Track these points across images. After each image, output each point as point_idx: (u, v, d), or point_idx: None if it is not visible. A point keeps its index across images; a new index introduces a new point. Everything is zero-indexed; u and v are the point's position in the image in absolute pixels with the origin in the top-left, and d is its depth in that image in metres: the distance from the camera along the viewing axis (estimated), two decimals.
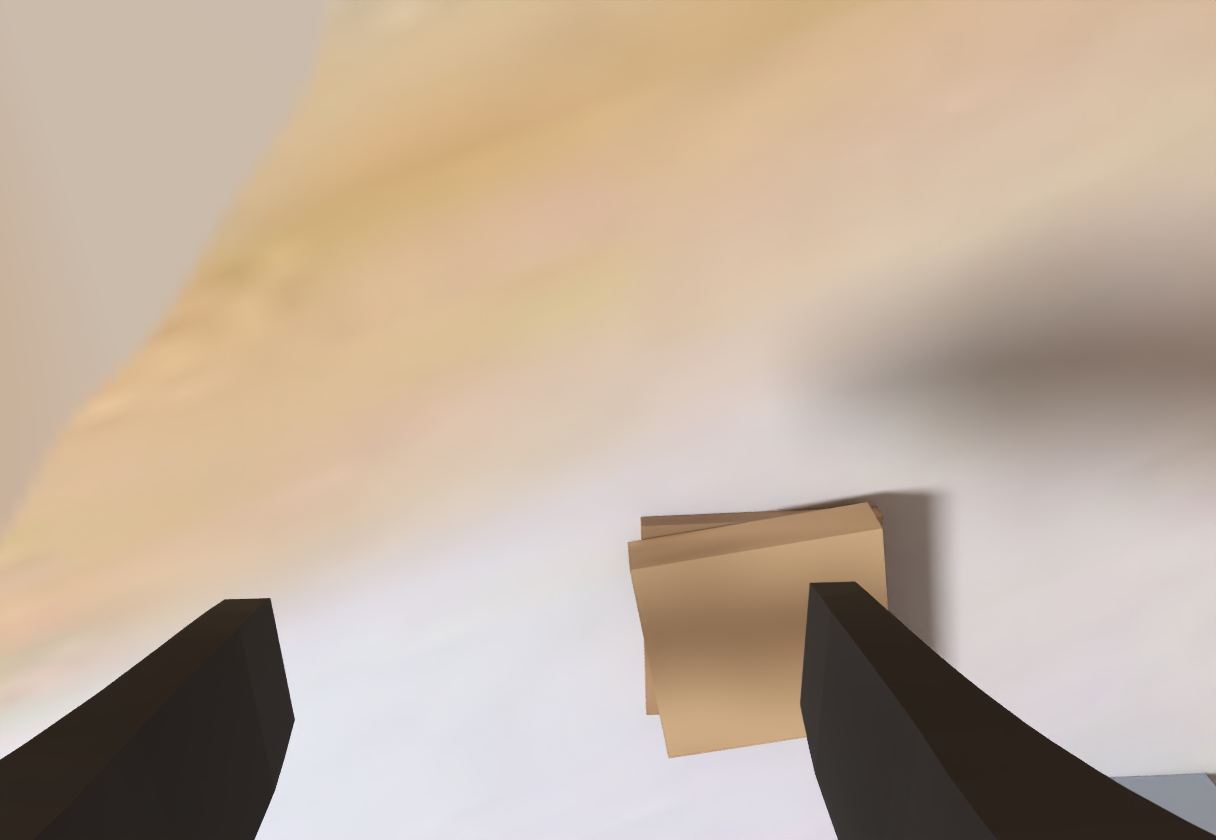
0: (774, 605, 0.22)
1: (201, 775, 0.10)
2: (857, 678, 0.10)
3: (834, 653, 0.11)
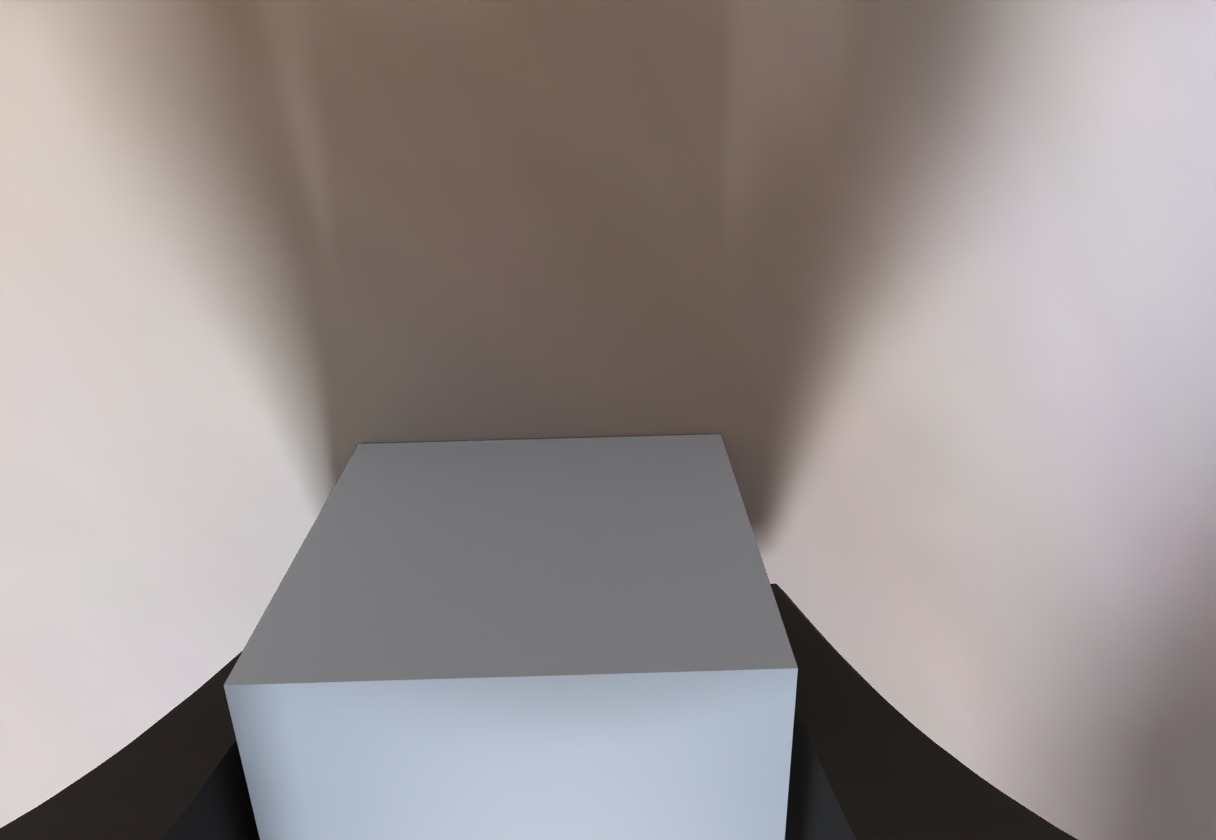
0: None
1: None
2: None
3: None
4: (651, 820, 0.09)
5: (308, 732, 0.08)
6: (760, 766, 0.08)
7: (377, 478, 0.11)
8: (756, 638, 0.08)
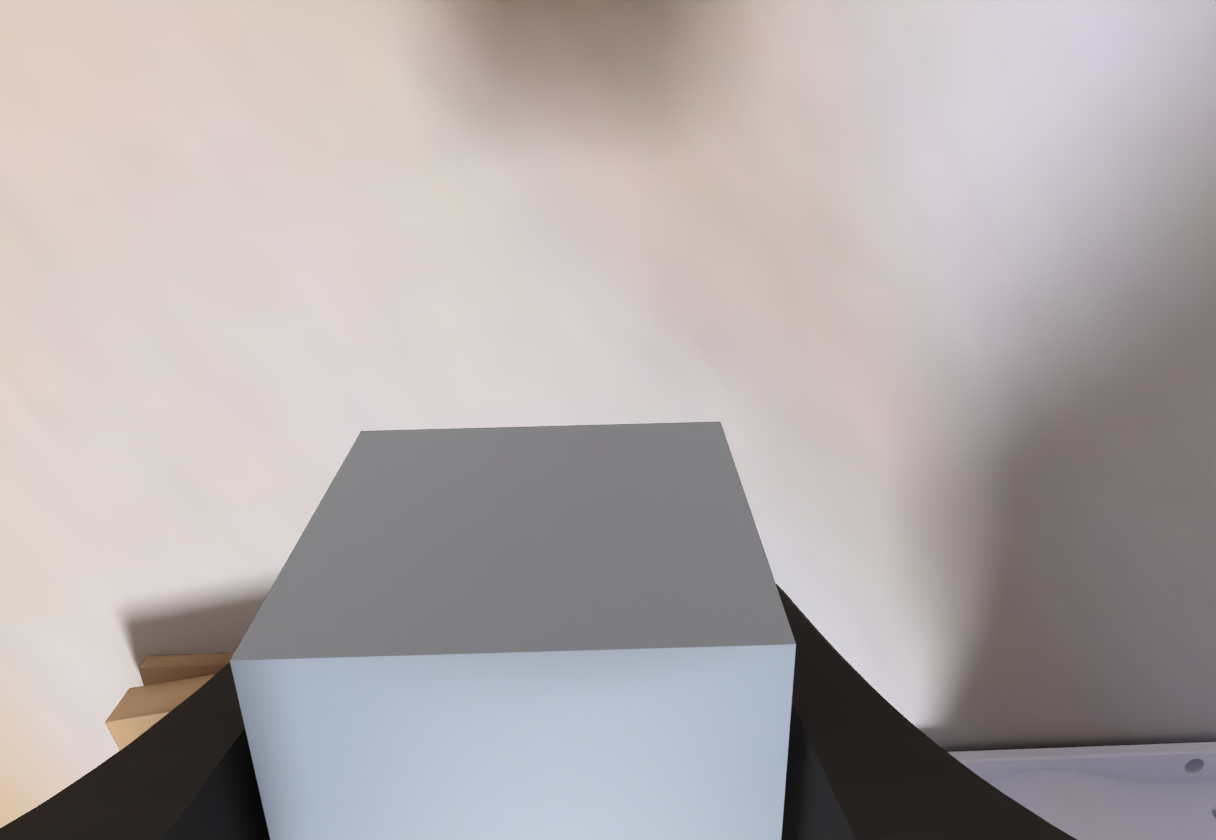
0: None
1: None
2: None
3: None
4: (650, 796, 0.09)
5: (313, 707, 0.08)
6: (759, 742, 0.08)
7: (379, 463, 0.12)
8: (755, 615, 0.08)
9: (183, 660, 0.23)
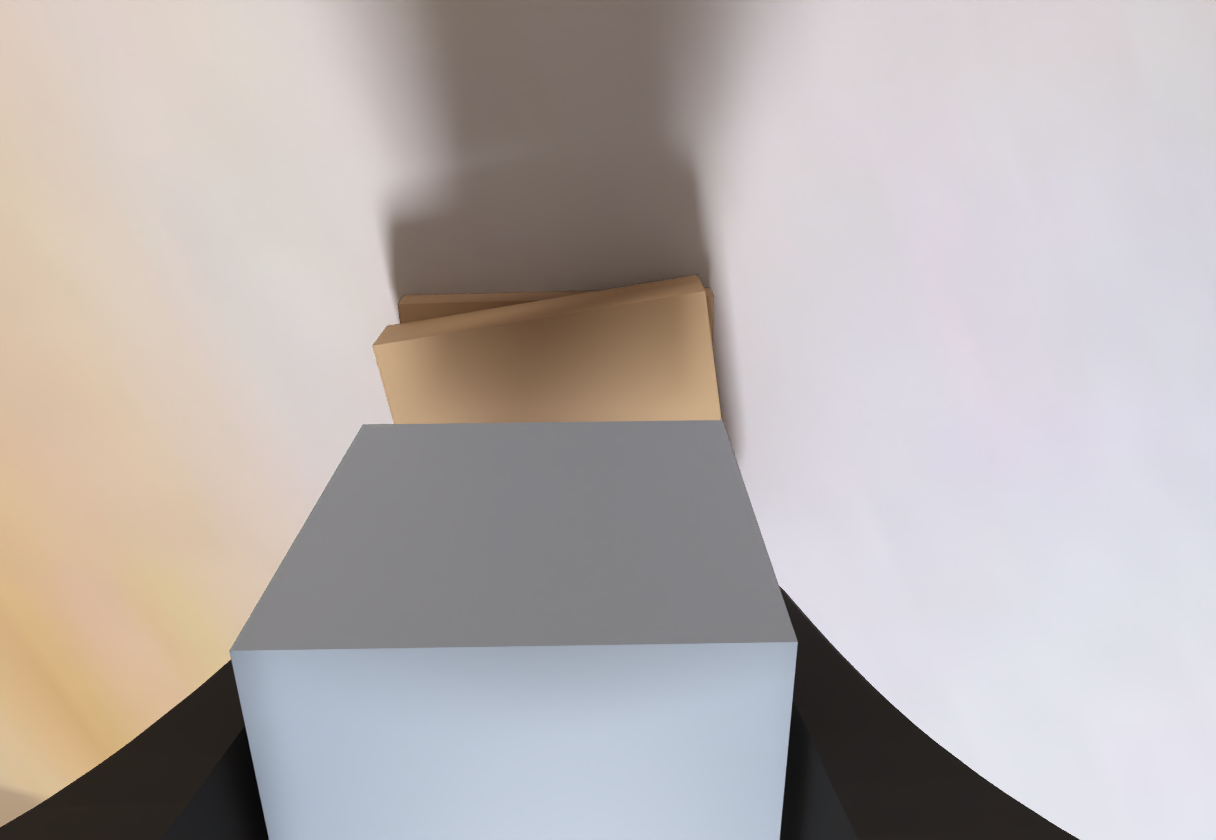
0: None
1: None
2: None
3: None
4: (648, 793, 0.09)
5: (312, 699, 0.08)
6: (759, 740, 0.08)
7: (381, 456, 0.12)
8: (757, 613, 0.08)
9: (454, 299, 0.17)
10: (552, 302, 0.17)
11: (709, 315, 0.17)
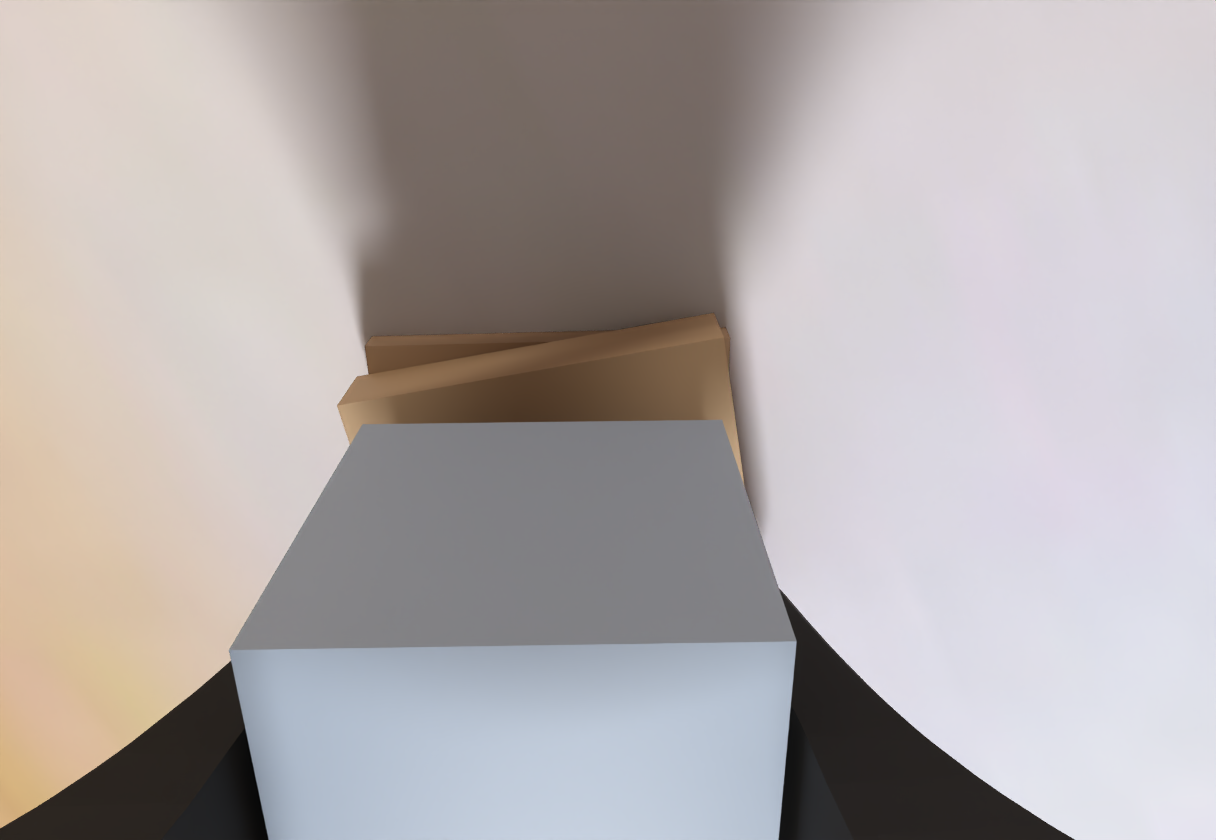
0: None
1: None
2: None
3: None
4: (648, 792, 0.09)
5: (312, 698, 0.08)
6: (758, 739, 0.08)
7: (380, 457, 0.12)
8: (755, 612, 0.08)
9: (430, 340, 0.15)
10: (546, 348, 0.15)
11: None
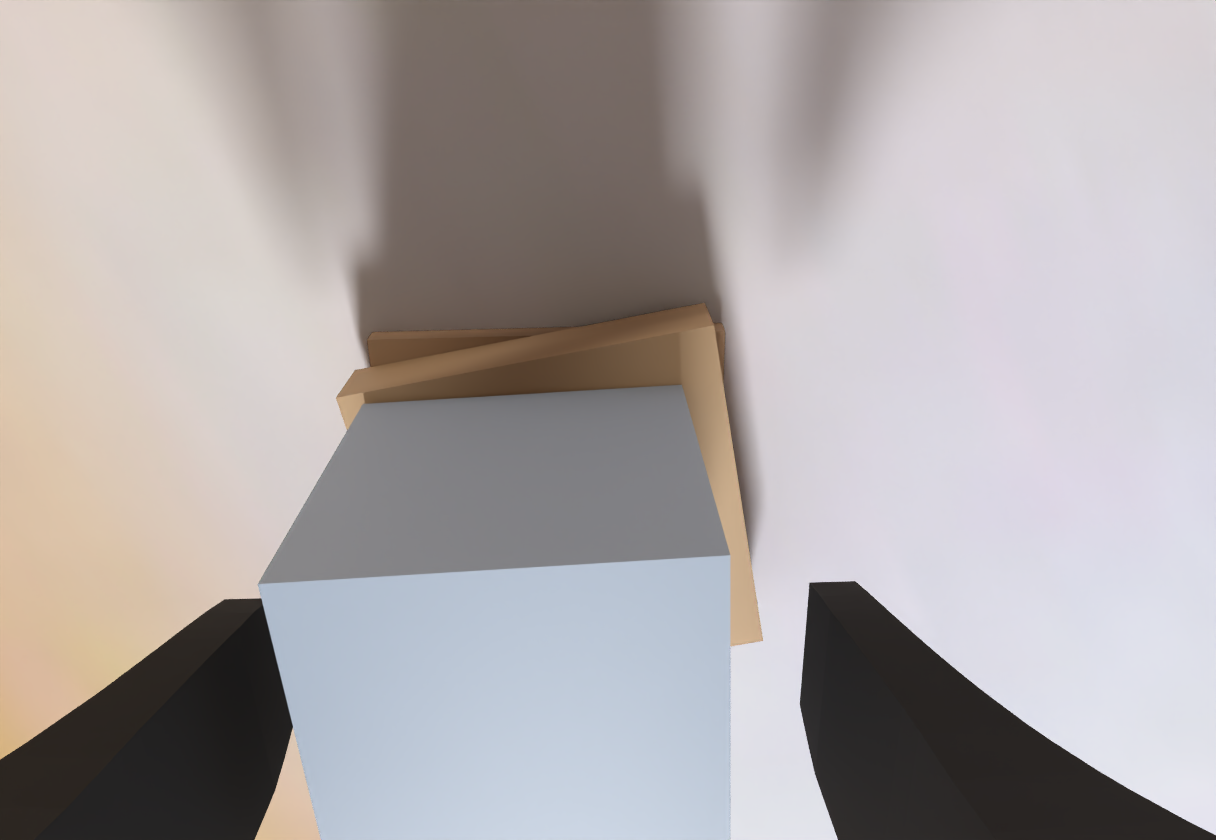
0: None
1: (202, 775, 0.10)
2: (857, 678, 0.10)
3: (834, 653, 0.11)
4: (616, 692, 0.10)
5: (328, 623, 0.10)
6: (705, 642, 0.10)
7: (379, 429, 0.13)
8: (698, 535, 0.10)
9: (431, 333, 0.15)
10: (540, 339, 0.15)
11: (720, 352, 0.15)
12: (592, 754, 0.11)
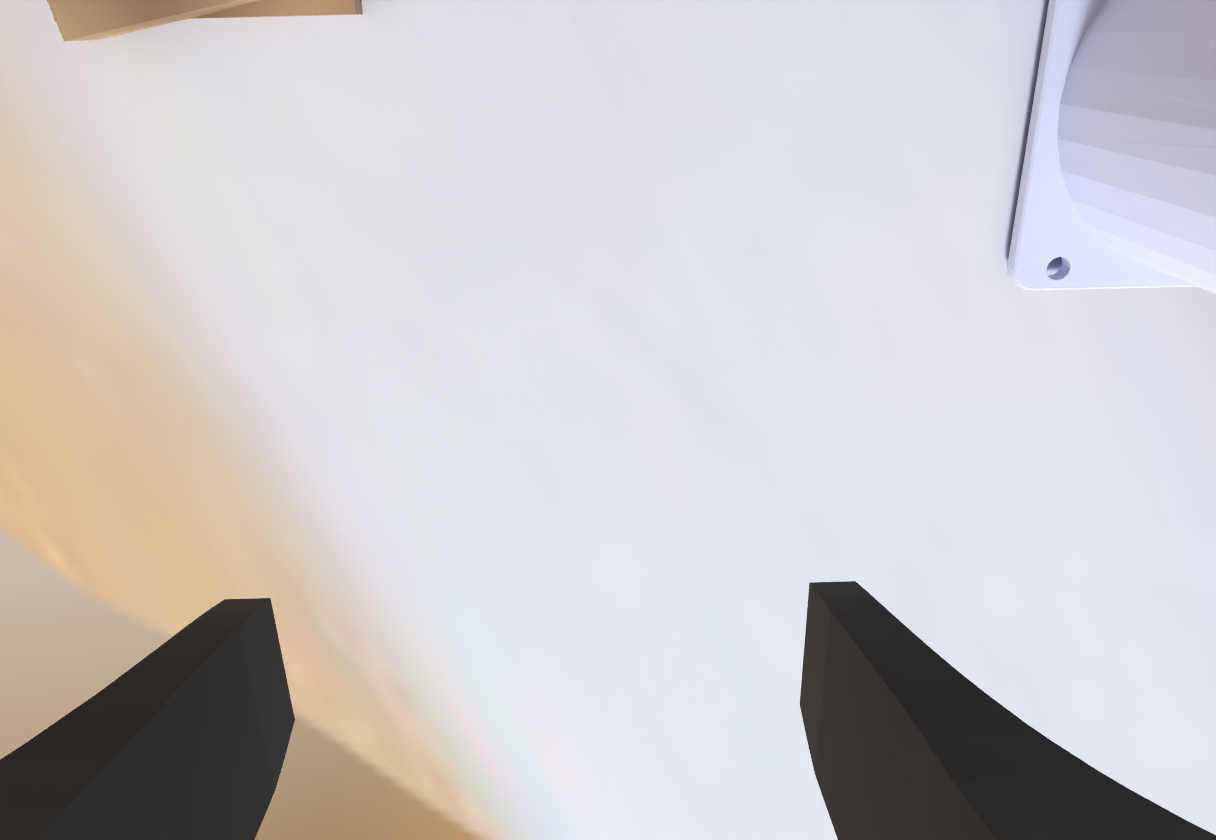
0: None
1: (202, 775, 0.10)
2: (857, 678, 0.10)
3: (834, 653, 0.11)
4: None
5: None
6: None
7: None
8: None
9: None
10: None
11: None
12: None
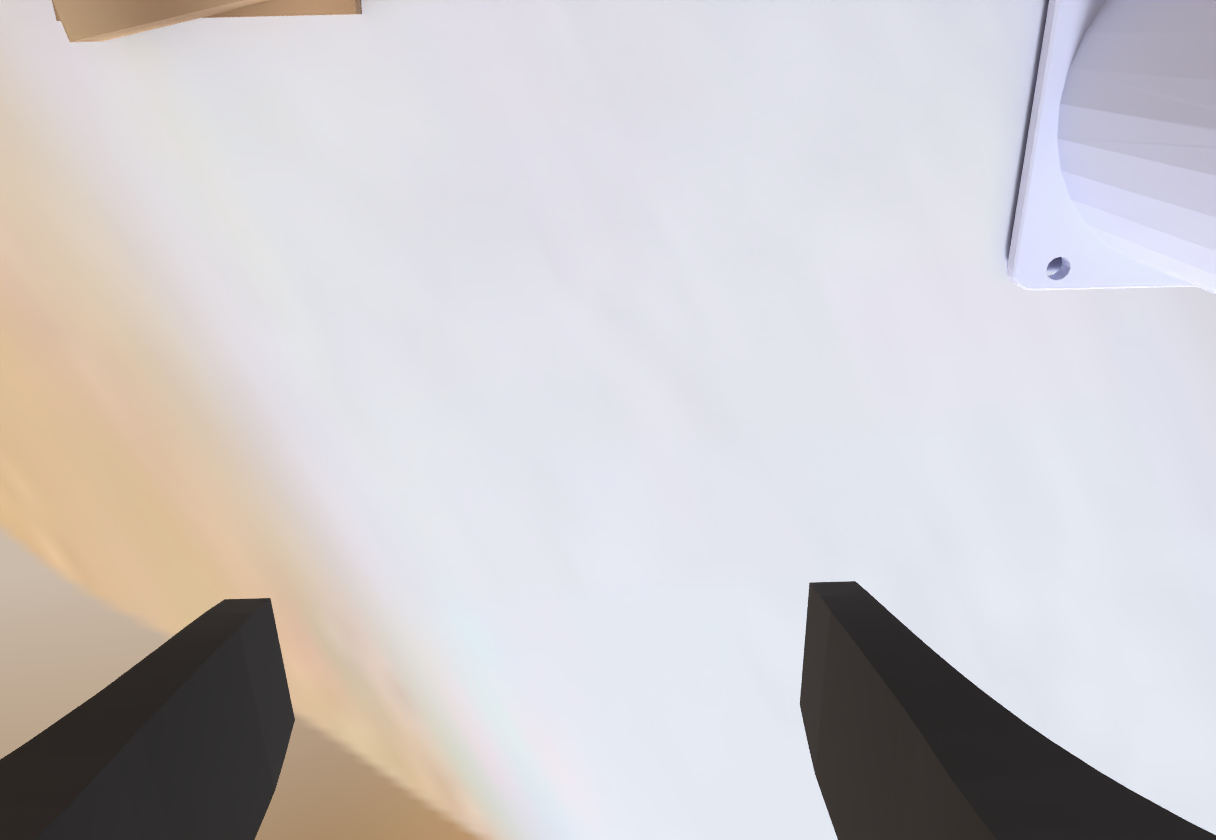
0: None
1: (202, 775, 0.10)
2: (857, 678, 0.10)
3: (834, 653, 0.11)
4: None
5: None
6: None
7: None
8: None
9: None
10: None
11: None
12: None
